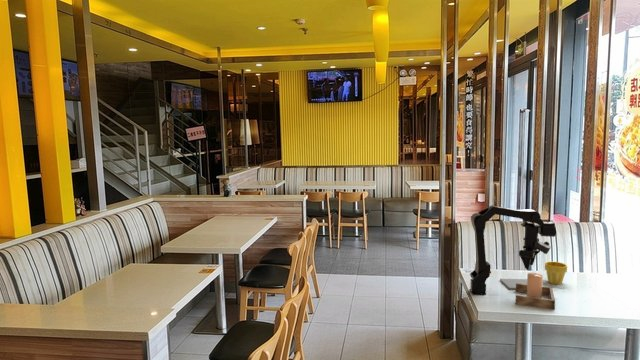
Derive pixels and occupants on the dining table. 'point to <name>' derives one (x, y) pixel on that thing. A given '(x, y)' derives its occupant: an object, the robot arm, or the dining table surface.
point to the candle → (534, 285)
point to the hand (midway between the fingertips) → (529, 267)
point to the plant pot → (555, 271)
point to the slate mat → (513, 283)
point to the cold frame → (535, 301)
